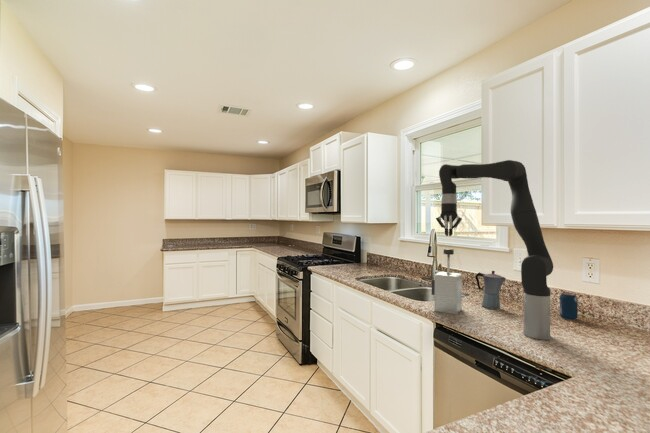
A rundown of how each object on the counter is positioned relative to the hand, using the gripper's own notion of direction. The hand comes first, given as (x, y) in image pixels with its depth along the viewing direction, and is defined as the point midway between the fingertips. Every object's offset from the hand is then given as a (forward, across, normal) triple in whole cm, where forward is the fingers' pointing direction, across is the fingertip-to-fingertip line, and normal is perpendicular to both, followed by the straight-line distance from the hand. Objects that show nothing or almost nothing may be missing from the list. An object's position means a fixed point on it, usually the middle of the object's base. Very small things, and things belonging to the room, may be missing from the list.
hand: (448, 235), depth 167 cm
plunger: (+28, 0, 0) cm, 28 cm away
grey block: (+39, -2, 0) cm, 39 cm away
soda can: (+39, +51, +21) cm, 68 cm away
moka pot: (+39, +17, +20) cm, 47 cm away
